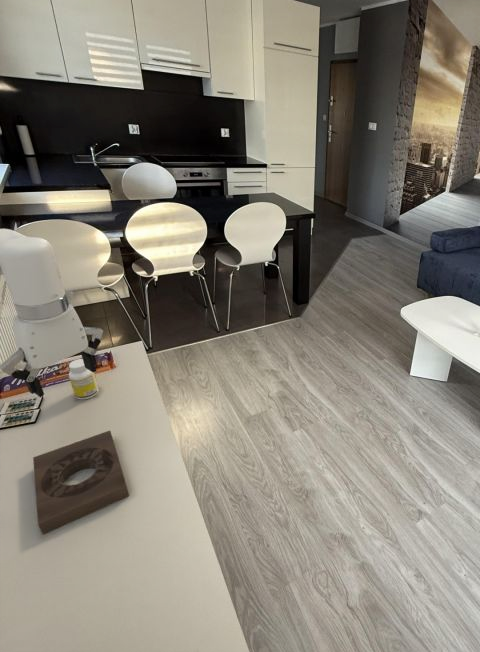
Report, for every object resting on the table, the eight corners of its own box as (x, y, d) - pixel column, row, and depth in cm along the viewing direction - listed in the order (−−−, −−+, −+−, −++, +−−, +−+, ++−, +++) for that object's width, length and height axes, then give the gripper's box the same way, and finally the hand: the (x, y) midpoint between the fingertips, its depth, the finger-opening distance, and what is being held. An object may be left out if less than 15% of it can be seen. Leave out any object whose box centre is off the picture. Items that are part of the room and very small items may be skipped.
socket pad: (37, 467, 84) (33, 457, 82) (112, 439, 92) (110, 430, 90) (42, 534, 71) (37, 524, 70) (129, 496, 80) (126, 485, 78)
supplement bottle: (81, 387, 107) (72, 357, 102) (103, 386, 108) (95, 357, 103) (70, 400, 102) (60, 369, 98) (93, 400, 103) (84, 369, 98)
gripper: (81, 285, 80) (99, 355, 88) (-28, 317, 67) (5, 396, 74) (103, 296, 77) (119, 367, 85) (-7, 331, 64) (24, 413, 71)
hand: (66, 381), depth 80 cm, fingers open, 9 cm apart
